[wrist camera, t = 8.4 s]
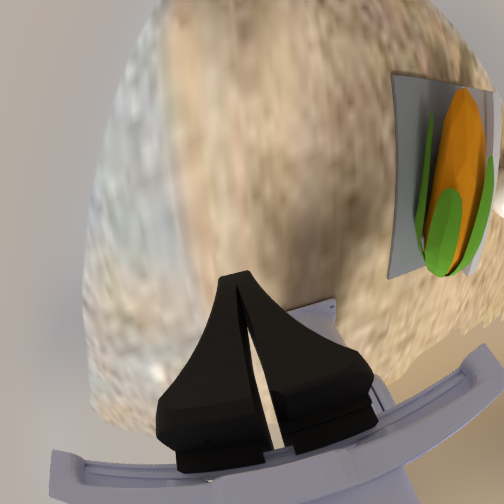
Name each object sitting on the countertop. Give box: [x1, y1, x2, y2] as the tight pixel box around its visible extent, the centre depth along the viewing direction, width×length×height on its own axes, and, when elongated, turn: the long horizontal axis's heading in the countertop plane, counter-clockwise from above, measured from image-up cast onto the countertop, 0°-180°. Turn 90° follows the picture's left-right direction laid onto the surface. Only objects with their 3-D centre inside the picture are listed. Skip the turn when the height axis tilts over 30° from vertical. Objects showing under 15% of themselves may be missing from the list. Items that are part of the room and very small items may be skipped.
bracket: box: [387, 75, 501, 280], centre depth 21 cm, size 22×12×5 cm, turn 10°
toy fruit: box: [414, 88, 494, 277], centre depth 19 cm, size 7×8×20 cm
